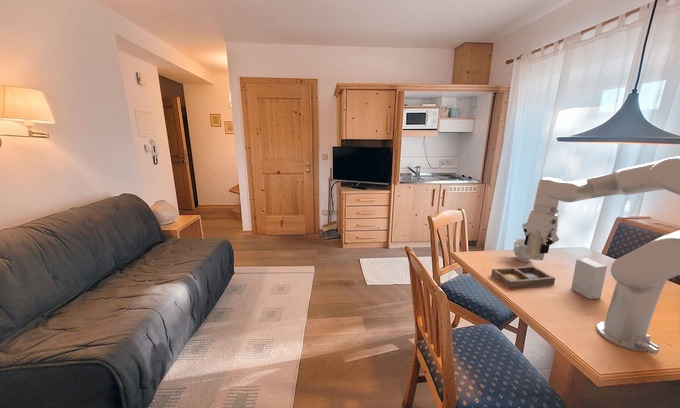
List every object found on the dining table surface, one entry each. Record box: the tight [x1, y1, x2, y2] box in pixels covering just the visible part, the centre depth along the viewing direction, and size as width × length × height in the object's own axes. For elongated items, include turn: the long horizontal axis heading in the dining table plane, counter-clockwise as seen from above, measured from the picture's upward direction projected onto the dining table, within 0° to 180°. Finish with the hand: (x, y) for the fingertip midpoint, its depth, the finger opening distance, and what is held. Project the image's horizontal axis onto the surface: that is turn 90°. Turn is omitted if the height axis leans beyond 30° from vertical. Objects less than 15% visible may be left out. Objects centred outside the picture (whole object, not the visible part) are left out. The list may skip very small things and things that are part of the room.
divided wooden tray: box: [491, 265, 556, 290], centre depth 126 cm, size 12×23×3 cm, turn 98°
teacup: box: [512, 238, 532, 263], centre depth 144 cm, size 12×15×10 cm
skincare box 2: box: [570, 257, 608, 300], centre depth 113 cm, size 8×6×15 cm
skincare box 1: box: [525, 231, 548, 261], centre depth 111 cm, size 6×4×12 cm
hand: (535, 248), depth 112 cm, fingers closed on skincare box 1, 7 cm apart
